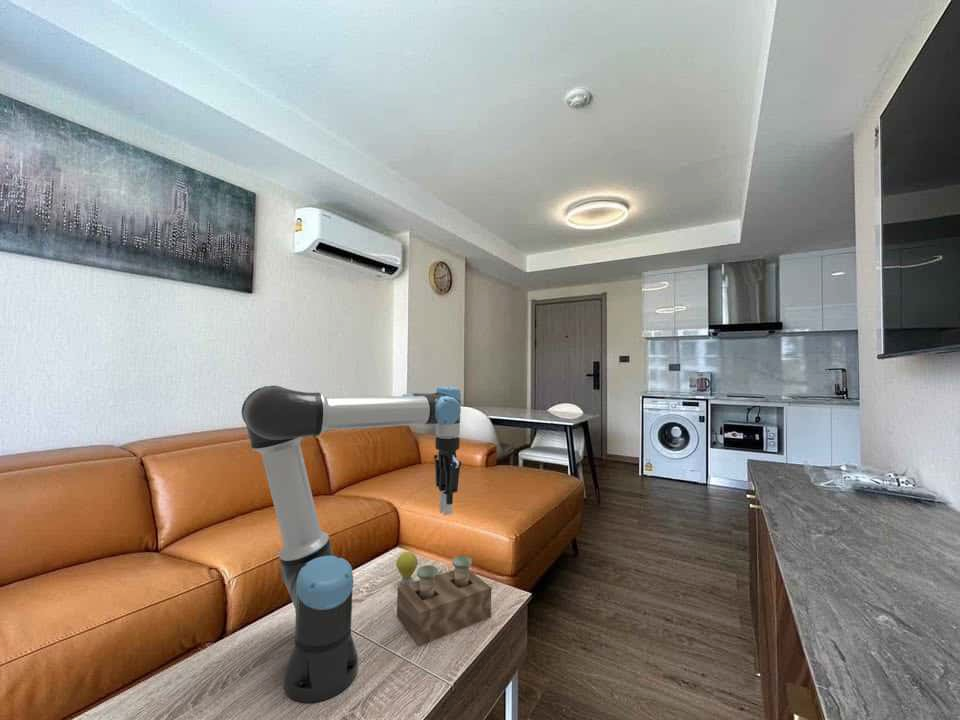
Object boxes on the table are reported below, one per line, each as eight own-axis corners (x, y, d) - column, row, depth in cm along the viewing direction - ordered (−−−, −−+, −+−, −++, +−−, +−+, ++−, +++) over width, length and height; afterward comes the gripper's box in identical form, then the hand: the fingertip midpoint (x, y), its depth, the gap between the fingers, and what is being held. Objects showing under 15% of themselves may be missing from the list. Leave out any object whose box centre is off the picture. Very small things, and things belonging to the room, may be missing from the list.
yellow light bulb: (412, 591, 121) (413, 558, 121) (392, 588, 122) (393, 556, 122) (420, 580, 127) (420, 549, 128) (400, 578, 129) (401, 547, 129)
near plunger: (421, 609, 102) (422, 577, 102) (412, 598, 106) (413, 568, 107) (440, 602, 105) (441, 572, 105) (431, 592, 109) (431, 563, 110)
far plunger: (458, 596, 108) (458, 566, 108) (448, 587, 112) (448, 558, 113) (474, 590, 111) (475, 561, 111) (464, 581, 116) (465, 554, 116)
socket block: (418, 646, 96) (419, 612, 97) (396, 616, 108) (397, 587, 108) (490, 616, 109) (491, 587, 109) (464, 593, 120) (464, 566, 121)
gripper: (470, 438, 118) (468, 518, 117) (446, 432, 130) (444, 504, 129) (449, 440, 114) (447, 523, 113) (426, 433, 126) (424, 508, 125)
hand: (445, 512), depth 121 cm, fingers open, 2 cm apart
